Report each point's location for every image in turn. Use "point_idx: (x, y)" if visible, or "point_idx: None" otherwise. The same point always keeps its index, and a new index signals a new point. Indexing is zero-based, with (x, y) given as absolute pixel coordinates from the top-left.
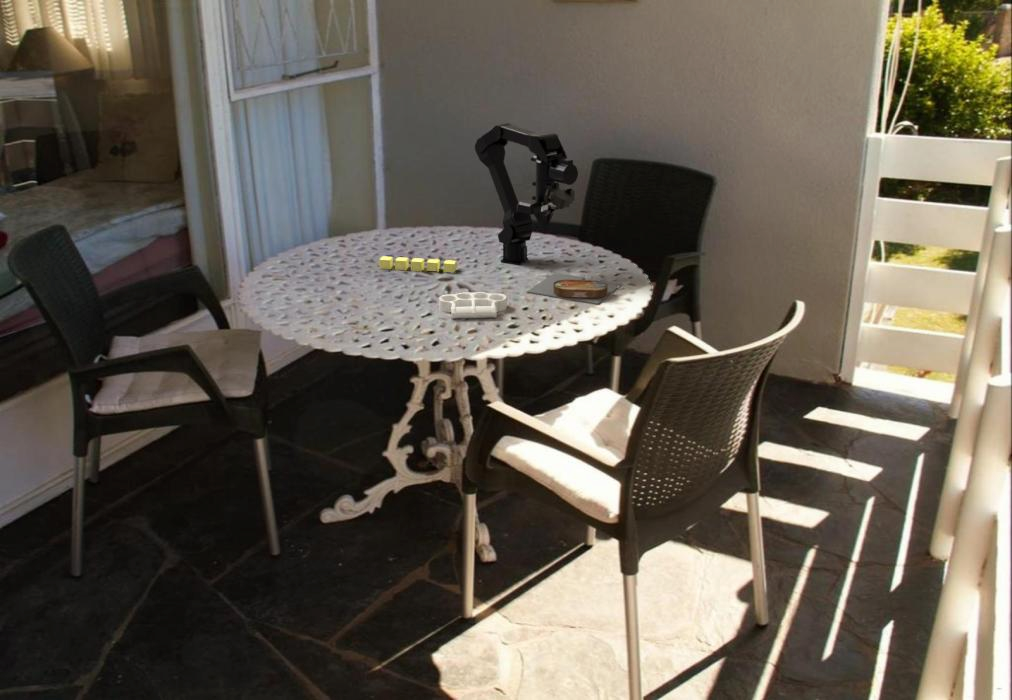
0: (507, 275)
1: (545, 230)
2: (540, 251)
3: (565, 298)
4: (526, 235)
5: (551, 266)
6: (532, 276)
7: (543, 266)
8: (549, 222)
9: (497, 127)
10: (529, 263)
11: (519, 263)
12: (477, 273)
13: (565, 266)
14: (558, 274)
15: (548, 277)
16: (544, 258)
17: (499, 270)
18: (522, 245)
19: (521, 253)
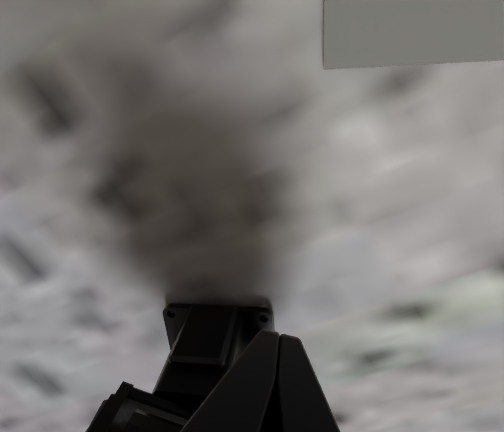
0: (470, 296)
1: (294, 347)
2: (25, 297)
3: None
4: (178, 427)
5: (193, 155)
6: (435, 172)
7: (220, 194)
8: (204, 419)
9: None
10: (216, 275)
11: (267, 311)
12: (488, 412)
13: (141, 77)
14: (354, 20)
15: (454, 54)
16: (98, 243)
17: (399, 352)
18: (210, 382)
19: (232, 346)
